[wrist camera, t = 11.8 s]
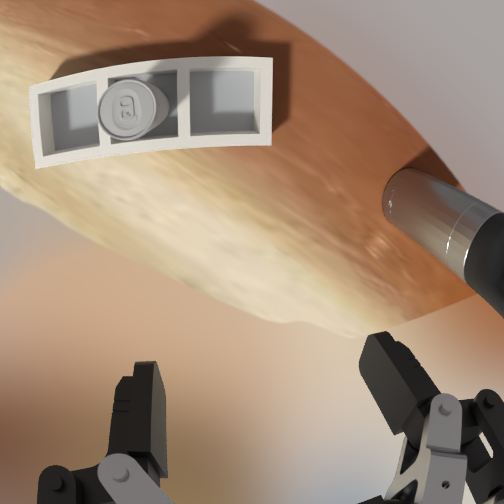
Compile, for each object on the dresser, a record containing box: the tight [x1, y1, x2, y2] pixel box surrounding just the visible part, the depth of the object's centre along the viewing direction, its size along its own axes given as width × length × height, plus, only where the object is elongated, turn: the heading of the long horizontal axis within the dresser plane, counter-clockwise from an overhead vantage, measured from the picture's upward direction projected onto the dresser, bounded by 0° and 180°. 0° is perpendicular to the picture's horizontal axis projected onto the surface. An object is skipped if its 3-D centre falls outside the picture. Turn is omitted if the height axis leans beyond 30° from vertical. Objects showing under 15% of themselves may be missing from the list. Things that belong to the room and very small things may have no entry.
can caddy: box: [29, 56, 273, 169], centre depth 28 cm, size 26×9×4 cm, turn 90°
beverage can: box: [97, 78, 170, 140], centre depth 24 cm, size 5×5×12 cm
